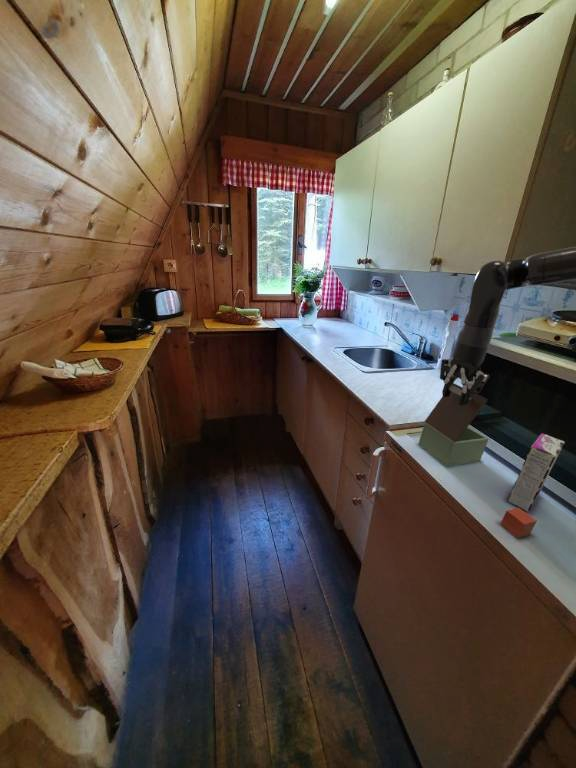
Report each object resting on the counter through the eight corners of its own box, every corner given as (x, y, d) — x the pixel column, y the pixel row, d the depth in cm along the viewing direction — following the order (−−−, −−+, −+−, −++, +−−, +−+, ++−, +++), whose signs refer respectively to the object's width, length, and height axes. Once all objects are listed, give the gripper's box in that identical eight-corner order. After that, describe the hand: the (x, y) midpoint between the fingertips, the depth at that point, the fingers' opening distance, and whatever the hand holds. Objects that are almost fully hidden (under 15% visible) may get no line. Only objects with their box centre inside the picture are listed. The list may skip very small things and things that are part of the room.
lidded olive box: (449, 440, 103) (457, 419, 100) (480, 460, 93) (488, 438, 90) (418, 444, 98) (424, 423, 95) (446, 466, 88) (454, 443, 85)
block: (512, 520, 70) (518, 507, 69) (529, 534, 67) (537, 520, 66) (500, 523, 69) (506, 510, 68) (517, 538, 66) (524, 524, 64)
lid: (453, 383, 93) (444, 377, 90) (488, 399, 83) (478, 392, 80) (425, 422, 95) (416, 416, 93) (455, 442, 85) (445, 437, 83)
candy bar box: (517, 484, 84) (541, 432, 78) (539, 494, 80) (566, 441, 74) (505, 500, 77) (530, 445, 71) (528, 513, 73) (557, 456, 67)
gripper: (508, 350, 76) (485, 411, 82) (460, 335, 88) (444, 389, 94) (486, 350, 73) (464, 413, 80) (440, 335, 86) (424, 390, 92)
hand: (453, 400), depth 87 cm, fingers closed on lid, 5 cm apart
